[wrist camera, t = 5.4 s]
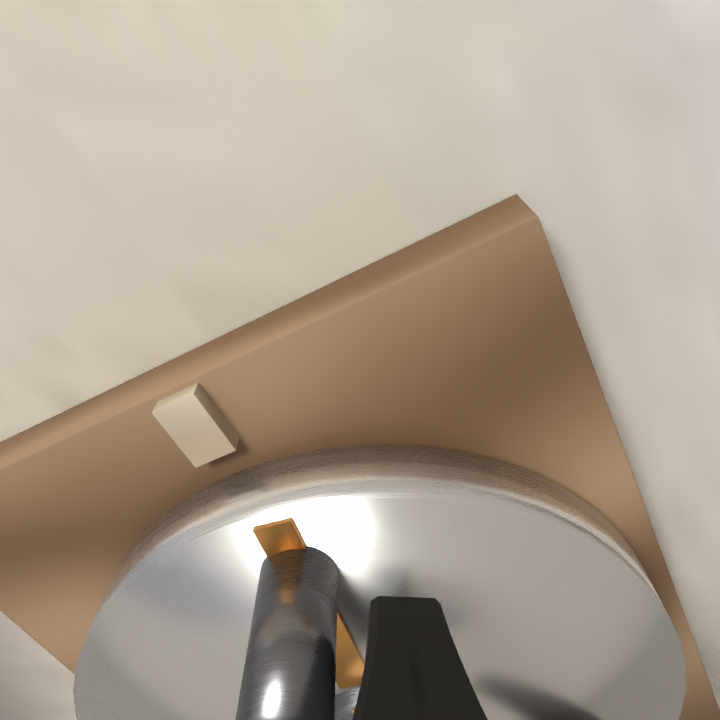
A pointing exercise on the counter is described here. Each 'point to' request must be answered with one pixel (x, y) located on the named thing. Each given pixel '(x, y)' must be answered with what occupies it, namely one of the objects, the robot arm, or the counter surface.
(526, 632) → the capstan dial
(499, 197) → the counter surface
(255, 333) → the tan base board
